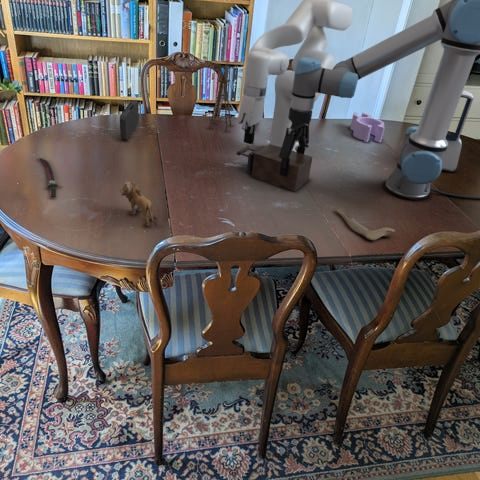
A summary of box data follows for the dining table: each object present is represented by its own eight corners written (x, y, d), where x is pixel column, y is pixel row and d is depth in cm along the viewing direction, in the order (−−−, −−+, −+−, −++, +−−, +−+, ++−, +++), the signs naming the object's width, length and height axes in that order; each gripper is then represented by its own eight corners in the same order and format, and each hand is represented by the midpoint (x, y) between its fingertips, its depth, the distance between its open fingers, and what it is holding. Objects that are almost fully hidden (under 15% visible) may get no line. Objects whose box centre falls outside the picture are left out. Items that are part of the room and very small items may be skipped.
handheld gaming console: (132, 121, 201) (132, 98, 196) (139, 122, 202) (138, 99, 196) (119, 140, 182) (118, 115, 177) (126, 141, 182) (125, 116, 177)
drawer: (232, 167, 169) (234, 149, 165) (247, 158, 177) (249, 141, 173) (286, 184, 161) (289, 166, 157) (298, 175, 169) (301, 157, 165)
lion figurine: (118, 210, 138) (116, 182, 133) (132, 204, 141) (131, 177, 137) (151, 229, 130) (150, 201, 126) (165, 223, 134) (165, 195, 129)
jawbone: (381, 248, 134) (382, 242, 133) (320, 221, 145) (321, 216, 143) (394, 234, 140) (396, 229, 139) (335, 210, 150) (336, 204, 149)
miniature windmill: (227, 131, 202) (232, 59, 186) (208, 128, 203) (212, 56, 187) (231, 125, 210) (237, 55, 193) (213, 122, 211) (217, 52, 194)
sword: (61, 197, 141) (61, 193, 140) (50, 198, 139) (50, 194, 139) (49, 160, 164) (48, 156, 163) (39, 160, 163) (39, 157, 162)
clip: (343, 126, 223) (346, 112, 219) (367, 127, 225) (371, 113, 221) (360, 142, 206) (364, 127, 202) (386, 142, 209) (390, 127, 205)
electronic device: (453, 166, 192) (481, 93, 175) (454, 173, 186) (482, 98, 169) (422, 160, 194) (446, 87, 178) (422, 167, 188) (447, 92, 172)
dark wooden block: (251, 177, 166) (254, 153, 161) (266, 166, 175) (269, 143, 170) (294, 191, 159) (298, 167, 155) (308, 180, 168) (312, 156, 163)
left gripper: (255, 85, 164) (249, 135, 174) (233, 92, 153) (228, 145, 162) (274, 89, 161) (267, 140, 171) (253, 97, 150) (247, 151, 160)
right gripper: (305, 98, 162) (295, 156, 174) (274, 114, 144) (265, 177, 156) (325, 103, 159) (314, 162, 171) (296, 120, 141) (285, 184, 153)
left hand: (248, 142), depth 167 cm, fingers closed
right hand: (291, 169), depth 163 cm, fingers closed on dark wooden block, 12 cm apart
